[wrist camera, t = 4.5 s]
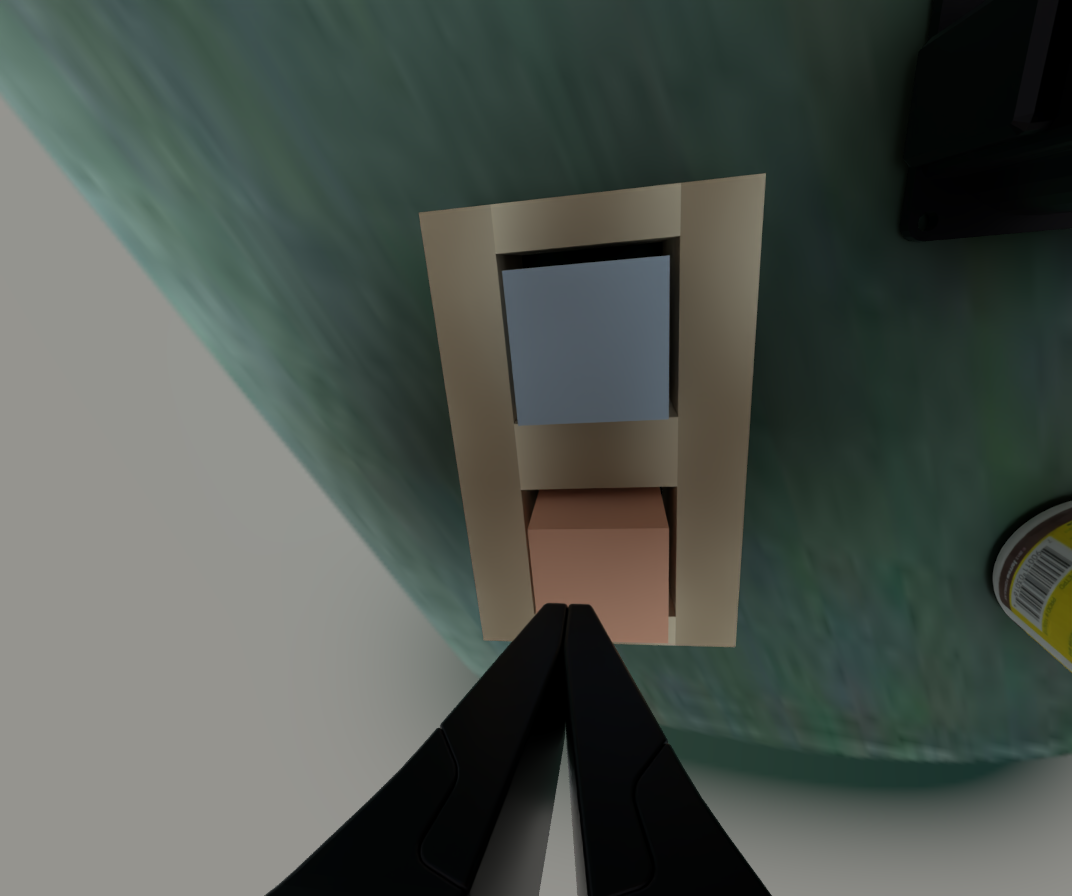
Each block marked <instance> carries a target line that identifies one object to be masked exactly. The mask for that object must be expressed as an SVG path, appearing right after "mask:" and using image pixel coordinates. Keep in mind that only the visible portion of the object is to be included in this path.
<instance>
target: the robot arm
mask: <svg viewBox="0 0 1072 896" xmlns="http://www.w3.org/2000/svg"><path fill="white" fill-rule="evenodd" d="M903 159H904V161H905V162H906V164H907V165H908V166H909V169H908V176H907V182H906V189H905V196H904V202H903V209H902V215H901V222H900V232H901V233H902V235H903V237H904V238H905V239H907V240H909V241H914V242H920V241H933V240H944V239H955V238H966V237H978V236H989V235H1000V234H1011V233H1022V232H1033V231H1045V230H1056V229H1067V228H1072V0H934V4H933V11H932V17H931V24H930V31H929V37H928V42H927V43H926V44H925V45H924V46H923V47H922V49H921V50H920V51H919V54H918V59H917V66H916V73H915V80H914V87H913V93H912V100H911V107H910V114H909V121H908V127H907V134H906V141H905V148H904V155H903ZM924 213H926V214H927V215H928V216H929V218H930V223H929V225H928V227H927V228H926V229H925V230H924V231H921V230H920V229H919V228H918V221H919V218H920V217H921V216H922V215H923V214H924ZM565 729H566V738H567V755H568V756H567V757H568V769H569V783H570V798H571V811H572V826H573V839H574V853H575V867H576V881H577V895H578V896H772V895H771V894H770V893H769V891H768V890H767V889H766V887H765V886H764V884H763V883H762V881H761V880H760V879H759V878H758V876H757V875H756V873H755V872H754V870H753V869H752V868H751V866H750V865H749V864H748V863H747V861H746V860H745V858H744V857H743V855H742V854H741V853H740V851H739V850H738V849H737V847H736V846H735V844H734V843H733V842H732V840H731V839H730V838H729V836H728V835H727V833H726V832H725V831H724V829H723V828H722V826H721V825H720V823H719V822H718V820H717V819H716V817H715V816H714V815H713V813H712V812H711V810H710V809H709V807H708V806H707V804H706V803H705V802H704V800H703V799H702V798H701V796H700V794H699V792H698V791H697V789H696V787H695V786H694V784H693V782H692V781H691V779H690V777H689V776H688V774H687V773H686V771H685V769H684V768H683V766H682V764H681V762H680V761H679V759H678V757H677V755H676V754H675V752H674V750H673V748H672V747H671V745H670V744H668V740H667V738H666V736H665V735H664V733H663V731H662V729H661V728H660V726H659V724H658V722H657V721H656V719H655V717H654V715H653V713H652V712H651V710H650V708H649V706H648V705H647V703H646V701H645V699H644V697H643V696H642V694H641V692H640V690H639V689H638V687H637V685H636V683H635V682H634V680H633V678H632V676H631V674H630V673H629V671H628V669H627V667H626V666H625V664H624V662H623V660H622V659H621V657H620V655H619V653H618V651H617V650H616V648H615V646H614V644H613V643H612V641H611V639H610V637H609V636H608V634H607V632H606V630H605V628H604V627H603V625H602V623H601V621H600V620H599V618H598V616H597V614H596V613H595V611H594V609H593V607H592V606H591V605H590V604H570V605H569V606H567V604H565V603H546V604H544V605H543V606H542V608H541V609H540V610H539V611H538V612H537V613H536V615H535V616H534V617H533V618H532V619H531V620H530V621H529V623H528V624H527V625H526V626H525V627H524V628H523V630H522V631H521V632H520V633H519V634H518V635H517V637H516V638H515V639H514V640H513V641H512V642H511V643H510V645H509V646H508V647H507V648H506V649H505V650H504V652H503V653H502V654H501V655H500V656H499V657H498V659H497V660H496V661H495V662H494V663H493V664H492V665H491V667H490V668H489V669H488V670H487V671H486V672H485V674H484V675H483V676H482V677H481V678H480V679H479V681H478V682H477V683H476V684H475V685H474V686H473V687H472V689H471V690H470V691H469V692H468V693H467V694H466V696H465V697H464V698H463V699H462V700H461V701H460V702H459V704H458V705H457V706H456V707H455V708H454V709H453V711H452V712H451V713H450V714H449V715H448V716H447V718H446V719H445V720H444V721H443V722H442V723H441V725H440V728H437V729H436V730H435V731H434V732H433V733H432V735H431V736H430V737H429V738H428V739H427V740H426V741H425V743H424V744H423V745H422V746H421V747H420V748H419V749H418V751H417V752H416V753H415V754H414V755H413V756H412V757H411V758H410V759H409V760H408V761H407V762H406V764H405V765H404V766H403V767H402V768H401V769H400V770H399V771H398V772H397V773H396V774H395V775H394V776H393V777H392V778H391V779H390V780H389V781H388V782H387V783H386V784H385V785H384V786H383V787H382V788H381V789H380V790H379V791H378V792H377V793H376V794H375V795H374V796H373V797H372V798H371V799H370V800H369V801H368V802H367V803H366V804H364V806H362V807H361V808H360V809H359V810H358V811H357V812H356V813H355V814H354V815H353V816H352V817H351V818H350V819H349V820H348V821H346V822H345V823H344V824H343V825H342V826H341V827H340V828H339V829H338V830H337V831H336V832H335V833H334V834H333V835H332V836H331V837H329V838H328V839H327V840H326V841H325V842H324V843H323V844H322V845H321V846H320V847H319V848H318V849H317V850H316V851H315V852H314V853H313V854H312V855H310V856H309V858H307V859H306V860H305V861H304V862H303V863H302V864H301V865H300V866H299V867H298V868H297V869H296V870H295V871H293V872H292V873H291V874H290V875H289V876H288V877H287V878H285V879H284V880H283V881H282V882H281V883H280V884H279V885H277V886H276V887H275V888H274V889H272V890H271V891H270V892H268V893H267V894H266V895H265V896H539V890H540V884H541V878H542V872H543V866H544V860H545V854H546V848H547V842H548V836H549V830H550V824H551V818H552V812H553V806H554V800H555V794H556V788H557V782H558V776H559V770H560V764H561V758H562V752H563V746H564V739H565Z"/></svg>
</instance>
